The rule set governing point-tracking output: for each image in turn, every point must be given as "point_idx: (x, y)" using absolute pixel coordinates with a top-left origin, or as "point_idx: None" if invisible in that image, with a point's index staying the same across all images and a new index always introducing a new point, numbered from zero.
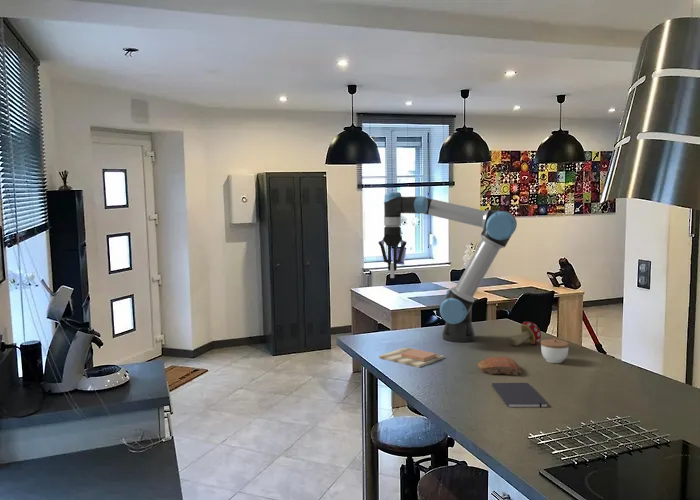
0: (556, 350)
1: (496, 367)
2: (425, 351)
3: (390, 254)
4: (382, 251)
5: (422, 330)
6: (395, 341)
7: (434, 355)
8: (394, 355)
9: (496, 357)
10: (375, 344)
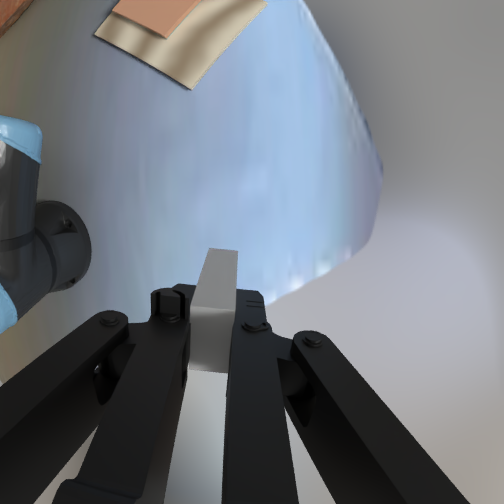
0: None
1: None
2: (135, 20)
3: (230, 408)
4: (406, 444)
5: None
6: (223, 187)
7: (118, 5)
8: (223, 7)
9: (9, 7)
10: (286, 144)
